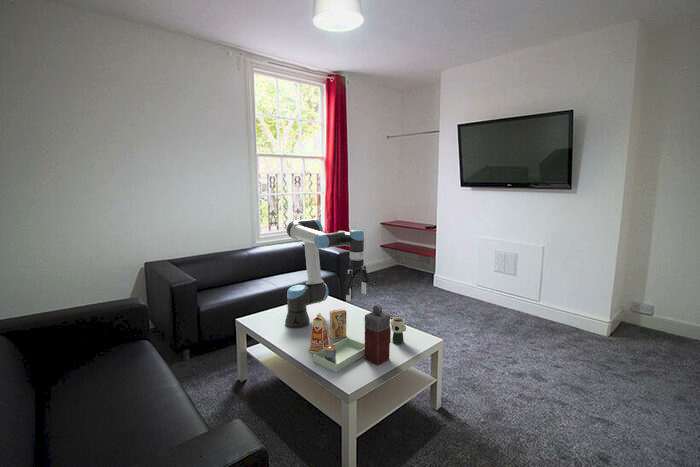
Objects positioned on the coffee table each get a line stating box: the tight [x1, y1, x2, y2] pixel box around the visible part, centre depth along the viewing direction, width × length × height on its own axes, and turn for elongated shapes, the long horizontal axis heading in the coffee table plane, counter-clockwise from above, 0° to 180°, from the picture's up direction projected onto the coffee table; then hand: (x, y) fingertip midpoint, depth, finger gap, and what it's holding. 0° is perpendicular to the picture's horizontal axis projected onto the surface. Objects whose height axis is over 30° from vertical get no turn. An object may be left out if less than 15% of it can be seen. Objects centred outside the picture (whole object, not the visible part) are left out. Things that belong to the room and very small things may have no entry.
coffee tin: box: [324, 343, 336, 364], centre depth 166 cm, size 6×6×8 cm
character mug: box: [390, 316, 407, 345], centre depth 189 cm, size 11×7×13 cm, turn 39°
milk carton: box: [308, 312, 330, 354], centre depth 180 cm, size 9×9×20 cm
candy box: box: [329, 308, 347, 340], centre depth 196 cm, size 9×4×15 cm, turn 116°
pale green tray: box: [312, 336, 365, 374], centre depth 173 cm, size 15×25×4 cm, turn 139°
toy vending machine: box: [364, 304, 392, 366], centre depth 170 cm, size 9×11×28 cm
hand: (356, 297), depth 187 cm, fingers open, 13 cm apart
